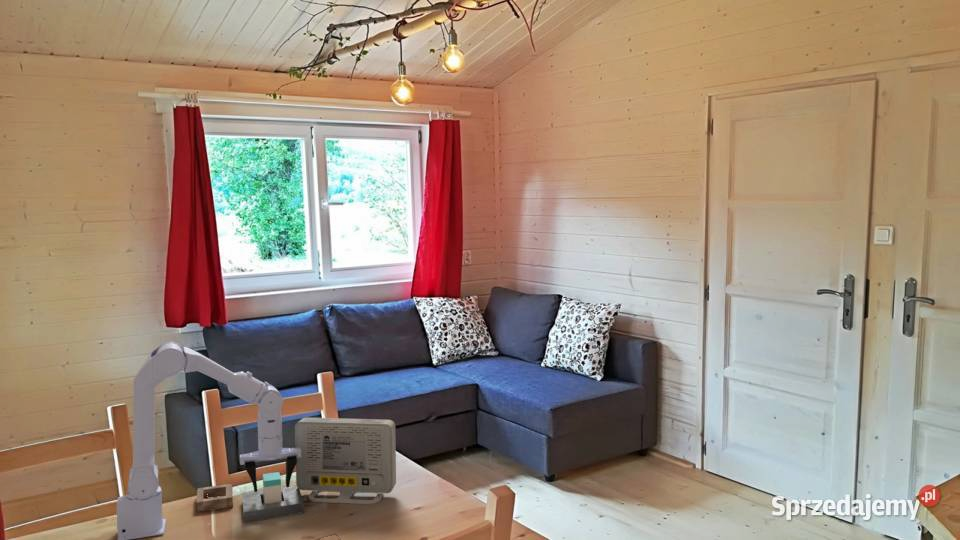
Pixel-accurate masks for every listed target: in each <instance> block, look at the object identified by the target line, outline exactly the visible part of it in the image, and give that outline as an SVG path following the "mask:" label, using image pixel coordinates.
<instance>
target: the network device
mask: <svg viewBox="0 0 960 540" xmlns="http://www.w3.org/2000/svg"><path fill="white" fill-rule="evenodd" d="M396 445H397V444H396V424H395V422H394V420H391V419H377V418H376V419H374V418H371V419H369V418H368V419H367V418H339V417H337V418H334V417H302V418H301V419H300V420H299V421H298V422H296V424H295V426H294V446H295V447H294V448H300V449H301V457H298V458H297V463H296V466H295V481H296V482H295V484H296V485H297V487H298V488H299V489H300V491H311V492H310V493H309V495H308V500H309V501H310V502H313V503H331V504H355V505H356V504H359V505H360V504H361V505H373V504H376V503H379V502H380V501H381V499H382V497H383V496H384V494H390V493H392V491H393V490H394V488H395V486H396V484H397V465H396V464H397V455H396V453H397V450H396ZM319 492H339V495H338V497H335V498H321V497H319V498H318V497H315V496H316V495H317V494H318V493H319ZM355 493H367V494H368V493H369V494H376V496H375V497H374V499H352V497H353V495H354V494H355Z"/></svg>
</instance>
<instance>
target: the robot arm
mask: <svg viewBox="0 0 960 540" xmlns="http://www.w3.org/2000/svg"><path fill="white" fill-rule="evenodd" d="M183 369H184V373H185V374H186V373H193V372H199V373H202V374H203V375H206V376H208V377H210V378H212V379H214V380H216V381H218V382H220V383H222V384H224V385H226V386H227V390H228V392H229V393H230V394H232V395H234V396H236V397H237V398H239V399H241V400H244V401H245V402H248V403H249V404H251V405H257V406H258V408H257V415H258V417H257V438H258V439H257V443H258V446H257V447H258V450H257V451H253V452H249V453H248V452H247V453H244V454H243V453H242V454H239V464H240V466H242V465H243V466H244V468H245V471H246V472H247V474H248V475H249V478H250V480H251V483H252V487H253V492H257V491H258V483H257V466H256V465H257V464H256V463H258V462H266V461H267V462H268V461H275V460H283V459H284V461H285V487H289V486H291V485H290V483H291V479H292V475H293V472H294V469H296V463H297V458H298V457H301V449H300V448H295V447H291V448H290V447H283V421H282V419H283V417H282V407H283V406H284V400H283V397H282V395H281V393H280V392H279V390H278V389H277V388H276V387H275V386H273V385H272V384H270V383H269V382H267V381H264V382H263V381H261V380H259V379H257V378H256V377H254V376H253V372H250V371H246V372H244V371H242V370H241V371H237V372H233V371H231V370H229V369H227V368H225V366H223V365H220V364H219V363H217V362H216V361H214V360H212V359H210V357H209V358H208V357H207V356H205V355H204V354H202V353H200V352H198V351H196V350H193V349H191V348H189V347H187V346H183V347H182V345H181V344H179V343H177V342H174V341H168V342H167V341H166V342H164V343H162V344H160V345H159V346H157V347H156V348H155V349H153V350H152V351H151V352H150V354H149V356H148V357H147V359H146V360H145V361H144V363H143V364H142V365H141V367H140V368H139V370H138V371H137V372H136V373H135V375H134V378H133V408H132V409H133V413H132V414H133V415H132V416H133V418H132V419H133V424H132V426H133V428H132V429H133V434H132V466H131V467H130V469H129V473H128V474H129V475H128V477H129V478H128V479H129V480H128V483H127V490H128V491H127V493H126V494H125V495H122V496H119V497H117V500H116V529H117V540H135V539H141V538H147V537H149V538H150V537H154V536H155V537H156V536H160V535H161V536H162V535H163V534H164V533H165V529H166V523H167V519H166V518H164V517H163V516H164V515H163V500H162V499H163V498H162V495H163V494H162V487H161V486H160V485H159V483H160V482H159V473H160V471H159V466H158V465H157V462H156V460H155V432H156V431H155V430H156V429H155V428H156V427H155V424H156V422H155V421H156V420H155V419H156V418H155V414H156V413H155V412H156V405H155V404H156V402H155V401H156V397H155V396H156V387H157V386H158V385H160V384H161V383H162V382H164V380H166V379H168V378H170V377H173V376H174V375H177V374H179V373H180V372H182V371H183Z"/></svg>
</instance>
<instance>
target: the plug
mask: <svg viewBox="0 0 960 540" xmlns="http://www.w3.org/2000/svg"><path fill="white" fill-rule="evenodd" d="M281 488H282V478H281V474H280V471H277V472H267V473H263V474H262V489H263V498H264V504H269V503H276V502H283V501H282V499H281Z"/></svg>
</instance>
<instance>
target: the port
mask: <svg viewBox="0 0 960 540" xmlns="http://www.w3.org/2000/svg"><path fill="white" fill-rule="evenodd" d="M281 499H282V502H276V503H269V504H264V498H263V490H257V492H254V491H248V492H242V493H241V502H242V513H243V515H242V516H243V522H244V523H247V522H254V521H261V520H266V519H273V518H279V517H285V516H292V515H298V514H304V513H305V505H304V503H305V502H304V499H303V496H302V493H301V490H300V489H299V488H298V487H297V485H289V487H286V486H281Z"/></svg>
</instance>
